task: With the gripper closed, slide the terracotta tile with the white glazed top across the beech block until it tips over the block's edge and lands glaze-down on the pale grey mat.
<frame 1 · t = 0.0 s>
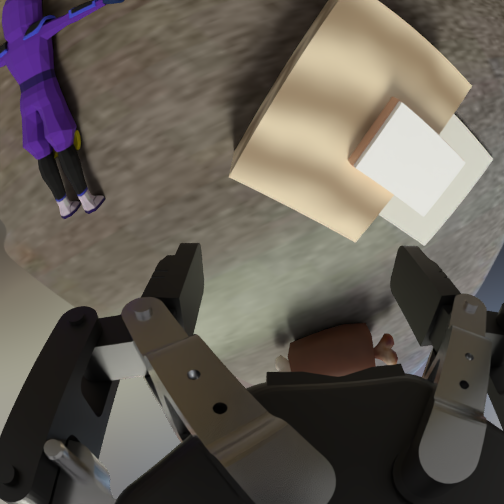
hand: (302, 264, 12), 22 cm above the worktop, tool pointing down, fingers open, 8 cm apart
meat: (330, 335, 50), on the worktop
mat: (433, 178, 32), on the worktop
toy: (54, 93, 27), on the worktop
block: (340, 106, 28), on the worktop
tile: (406, 156, 24), point 7 cm above the worktop, touching block
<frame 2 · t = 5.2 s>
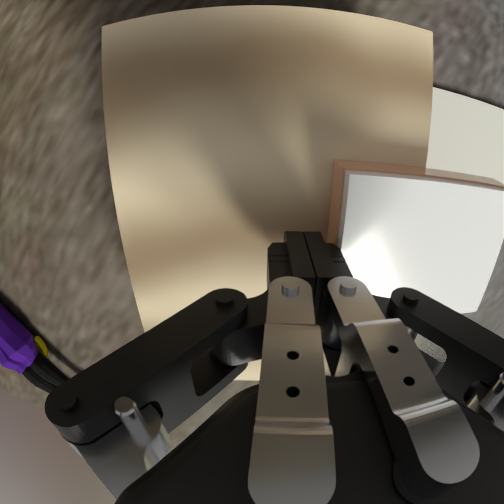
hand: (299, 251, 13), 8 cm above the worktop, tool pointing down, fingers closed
mat: (459, 200, 20), on the worktop
toy: (3, 305, 27), on the worktop
block: (266, 189, 20), on the worktop
tile: (414, 237, 14), point 7 cm above the worktop, touching gripper
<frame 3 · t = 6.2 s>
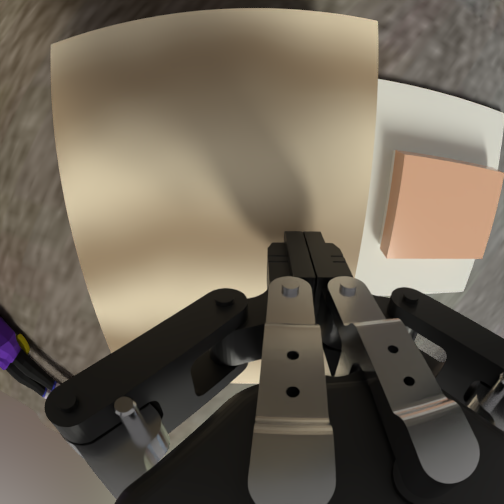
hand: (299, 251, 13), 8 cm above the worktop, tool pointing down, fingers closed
mat: (431, 201, 20), on the worktop
block: (222, 193, 20), on the worktop
tile: (451, 213, 18), point 2 cm above the worktop, tilted 180°, touching mat
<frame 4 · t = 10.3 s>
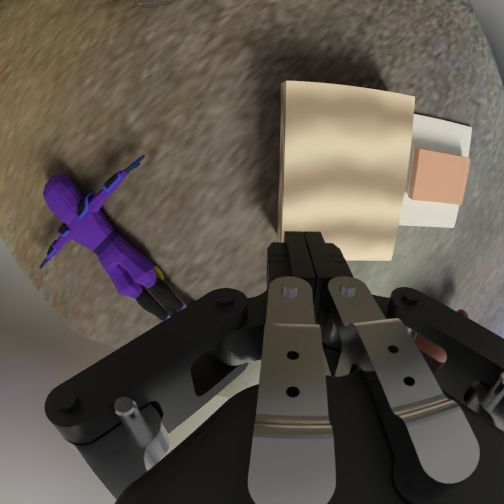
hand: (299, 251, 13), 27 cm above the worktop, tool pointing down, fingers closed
meat: (416, 331, 52), on the worktop
mat: (432, 173, 37), on the worktop
toy: (123, 245, 44), on the worktop
block: (334, 164, 38), on the worktop
tile: (442, 178, 35), point 2 cm above the worktop, tilted 180°, touching mat
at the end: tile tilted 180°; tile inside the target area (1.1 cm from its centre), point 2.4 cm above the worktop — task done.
